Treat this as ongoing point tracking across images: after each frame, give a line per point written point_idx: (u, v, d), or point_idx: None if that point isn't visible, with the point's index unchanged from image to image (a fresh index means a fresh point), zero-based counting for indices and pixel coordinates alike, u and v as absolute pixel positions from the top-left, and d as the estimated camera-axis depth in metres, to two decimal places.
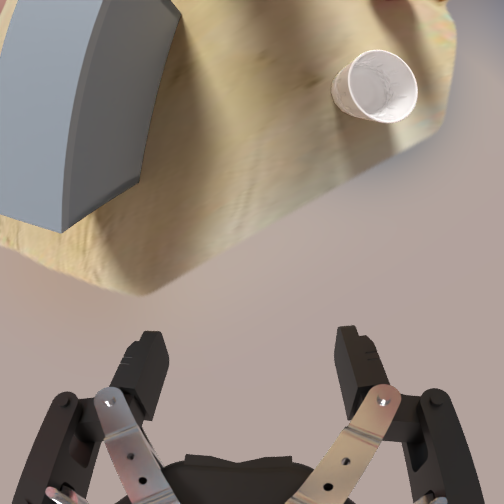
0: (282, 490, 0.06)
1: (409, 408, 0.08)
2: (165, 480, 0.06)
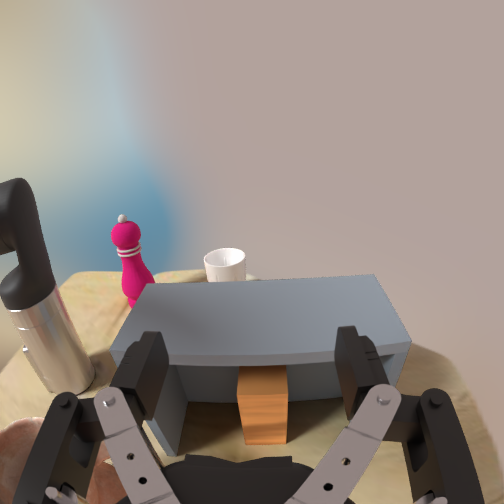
0: (282, 490, 0.06)
1: (409, 408, 0.08)
2: (165, 480, 0.06)
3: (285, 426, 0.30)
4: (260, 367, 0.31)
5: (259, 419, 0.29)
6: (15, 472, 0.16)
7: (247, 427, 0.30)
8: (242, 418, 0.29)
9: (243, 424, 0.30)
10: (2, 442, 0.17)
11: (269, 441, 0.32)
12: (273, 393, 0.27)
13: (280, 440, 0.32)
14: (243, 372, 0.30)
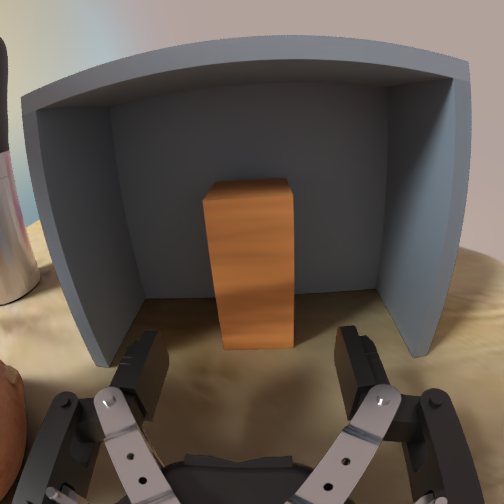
0: (282, 490, 0.06)
1: (409, 408, 0.08)
2: (165, 480, 0.06)
3: (291, 295, 0.19)
4: (246, 183, 0.20)
5: (244, 274, 0.19)
6: None
7: (224, 298, 0.19)
8: (214, 270, 0.19)
9: (217, 289, 0.19)
10: None
11: (264, 340, 0.21)
12: (268, 196, 0.17)
13: (284, 338, 0.21)
14: (218, 187, 0.19)
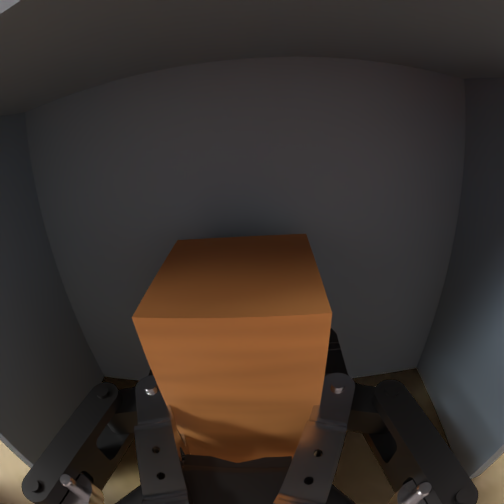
0: None
1: (365, 398, 0.09)
2: (183, 480, 0.06)
3: None
4: (231, 250, 0.11)
5: (228, 424, 0.09)
6: None
7: (198, 443, 0.10)
8: (176, 416, 0.09)
9: (184, 434, 0.10)
10: None
11: None
12: (274, 312, 0.07)
13: None
14: (176, 262, 0.10)
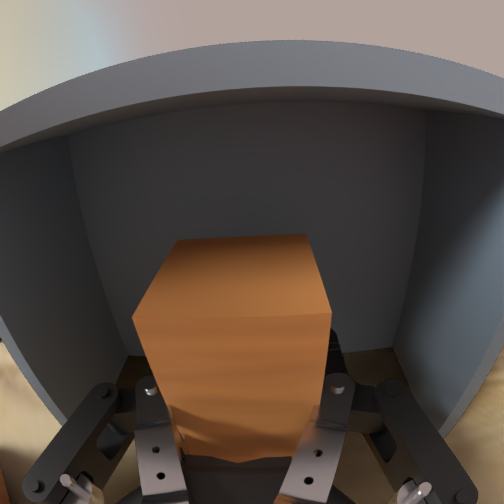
0: None
1: (365, 398, 0.09)
2: (183, 480, 0.06)
3: None
4: (231, 250, 0.11)
5: (228, 423, 0.09)
6: None
7: (198, 443, 0.10)
8: (176, 415, 0.09)
9: (184, 434, 0.10)
10: None
11: None
12: (274, 312, 0.07)
13: None
14: (176, 261, 0.10)
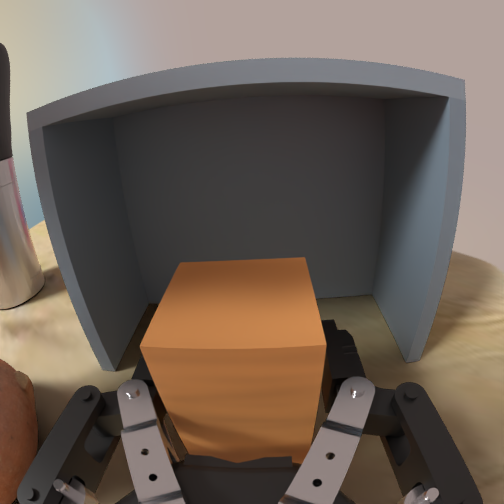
0: (282, 490, 0.06)
1: (384, 401, 0.09)
2: (176, 480, 0.06)
3: (305, 453, 0.10)
4: (233, 275, 0.11)
5: (230, 437, 0.10)
6: None
7: (201, 453, 0.10)
8: (180, 430, 0.10)
9: (188, 446, 0.10)
10: None
11: None
12: (273, 344, 0.08)
13: None
14: (180, 287, 0.10)
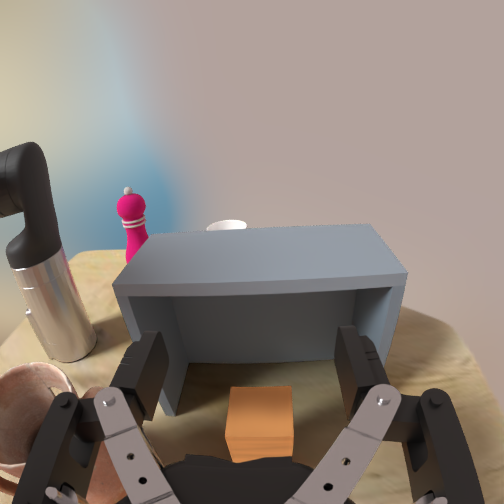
0: (282, 490, 0.06)
1: (409, 408, 0.08)
2: (165, 480, 0.06)
3: None
4: (257, 397, 0.22)
5: None
6: (7, 424, 0.18)
7: None
8: (234, 459, 0.21)
9: None
10: None
11: None
12: (274, 435, 0.19)
13: None
14: (234, 404, 0.22)
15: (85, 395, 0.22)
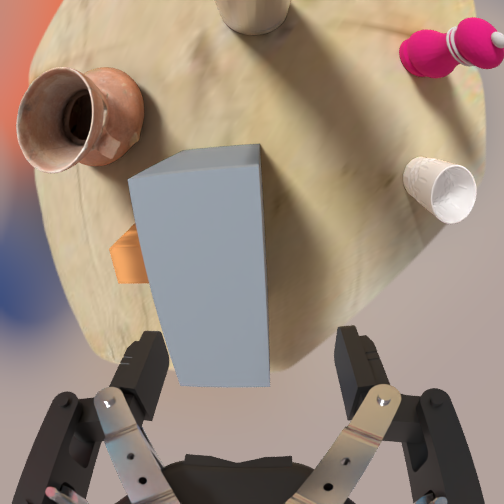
0: (282, 490, 0.06)
1: (409, 408, 0.08)
2: (165, 480, 0.06)
3: None
4: (139, 264, 0.36)
5: None
6: (64, 82, 0.27)
7: None
8: None
9: None
10: (64, 71, 0.24)
11: None
12: (116, 274, 0.37)
13: None
14: (131, 251, 0.35)
15: (103, 142, 0.29)
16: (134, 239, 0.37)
